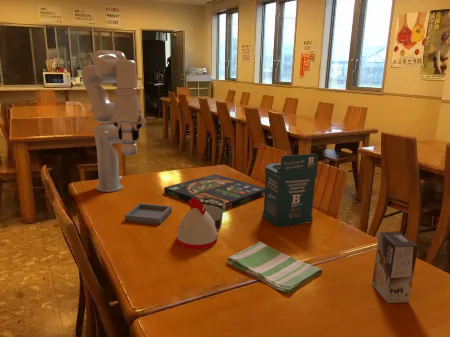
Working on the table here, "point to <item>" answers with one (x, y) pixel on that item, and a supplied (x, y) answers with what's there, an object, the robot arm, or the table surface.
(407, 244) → the coffee box
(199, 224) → the kitchen timer
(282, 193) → the donation box
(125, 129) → the plastic bottle
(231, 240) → the table surface
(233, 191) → the pizza box
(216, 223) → the food container
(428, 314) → the table surface
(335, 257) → the table surface
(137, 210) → the tray
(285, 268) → the dish towel
